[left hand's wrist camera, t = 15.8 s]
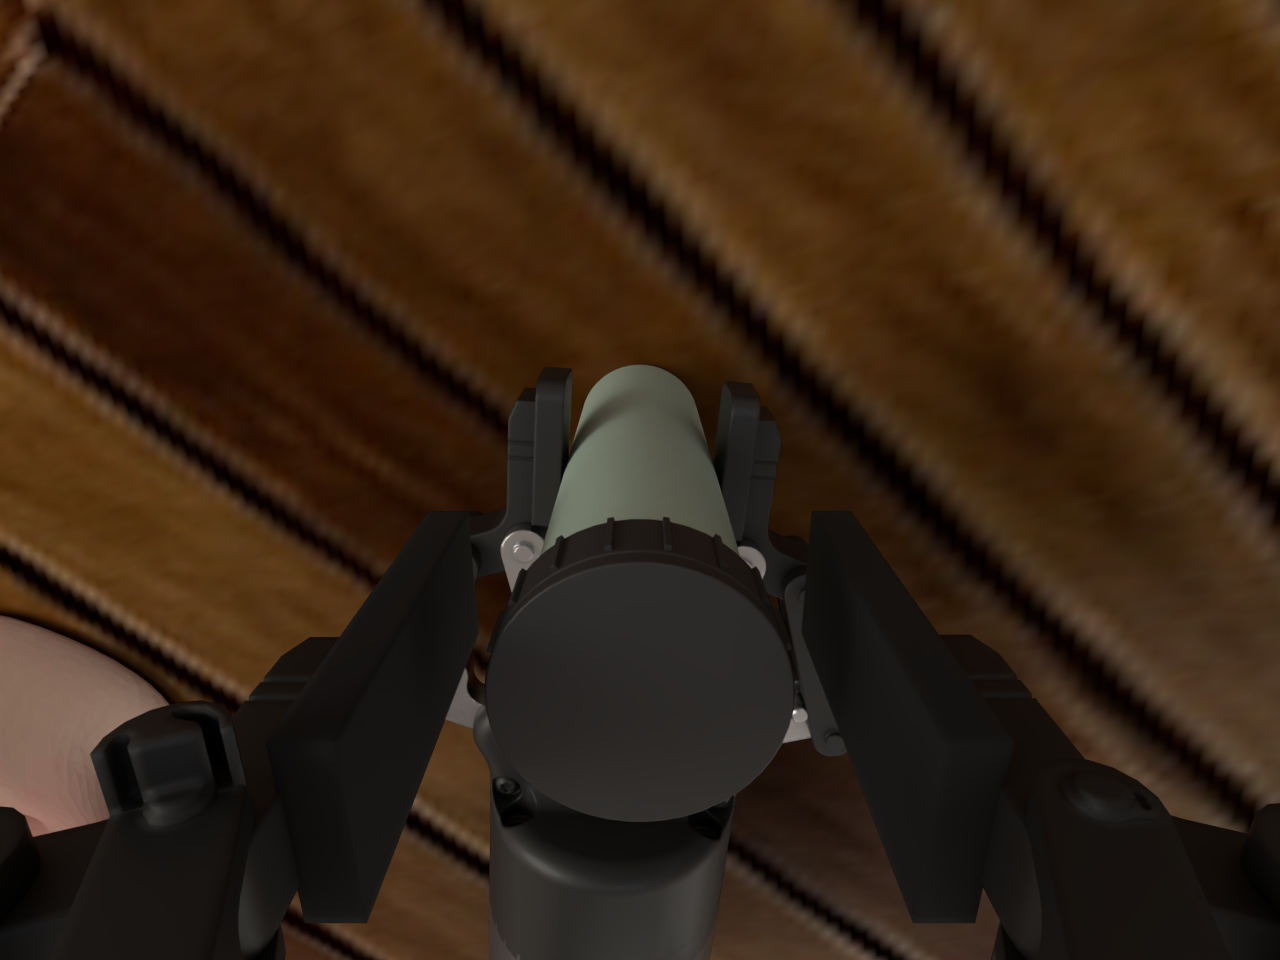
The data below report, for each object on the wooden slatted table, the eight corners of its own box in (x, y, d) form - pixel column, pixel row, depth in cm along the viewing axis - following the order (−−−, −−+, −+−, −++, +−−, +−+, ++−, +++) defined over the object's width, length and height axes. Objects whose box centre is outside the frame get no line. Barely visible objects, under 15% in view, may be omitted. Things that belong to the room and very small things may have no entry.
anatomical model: (-217, 653, 23) (149, 724, 24) (-99, 592, 27) (214, 656, 28) (-163, 940, 28) (144, 990, 29) (-68, 854, 32) (201, 901, 32)
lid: (649, 799, 13) (650, 873, 12) (441, 652, 12) (413, 712, 11) (838, 634, 12) (866, 692, 11) (626, 454, 11) (624, 491, 9)
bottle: (558, 434, 25) (462, 697, 11) (626, 340, 24) (608, 507, 10) (652, 497, 26) (665, 814, 12) (721, 409, 25) (822, 649, 11)
